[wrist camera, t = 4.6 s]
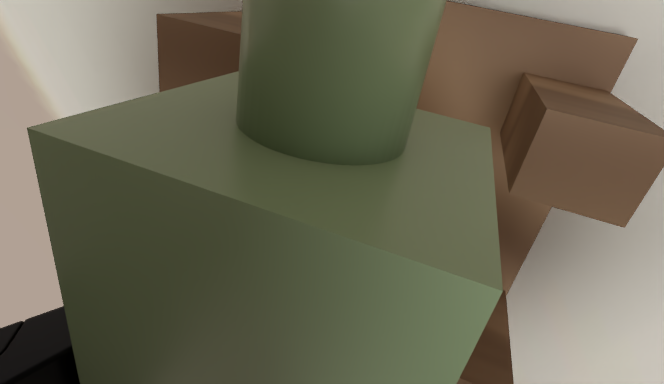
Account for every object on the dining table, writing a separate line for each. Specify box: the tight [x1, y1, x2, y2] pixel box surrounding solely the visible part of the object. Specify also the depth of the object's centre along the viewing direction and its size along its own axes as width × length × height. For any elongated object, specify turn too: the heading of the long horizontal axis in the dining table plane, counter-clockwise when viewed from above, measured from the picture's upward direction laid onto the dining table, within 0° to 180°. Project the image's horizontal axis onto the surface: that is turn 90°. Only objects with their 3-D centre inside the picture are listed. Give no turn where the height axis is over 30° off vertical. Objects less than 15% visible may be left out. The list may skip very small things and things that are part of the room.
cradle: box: [157, 1, 664, 384], centre depth 14 cm, size 13×12×6 cm
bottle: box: [27, 0, 503, 384], centre depth 7 cm, size 15×5×5 cm, turn 170°
